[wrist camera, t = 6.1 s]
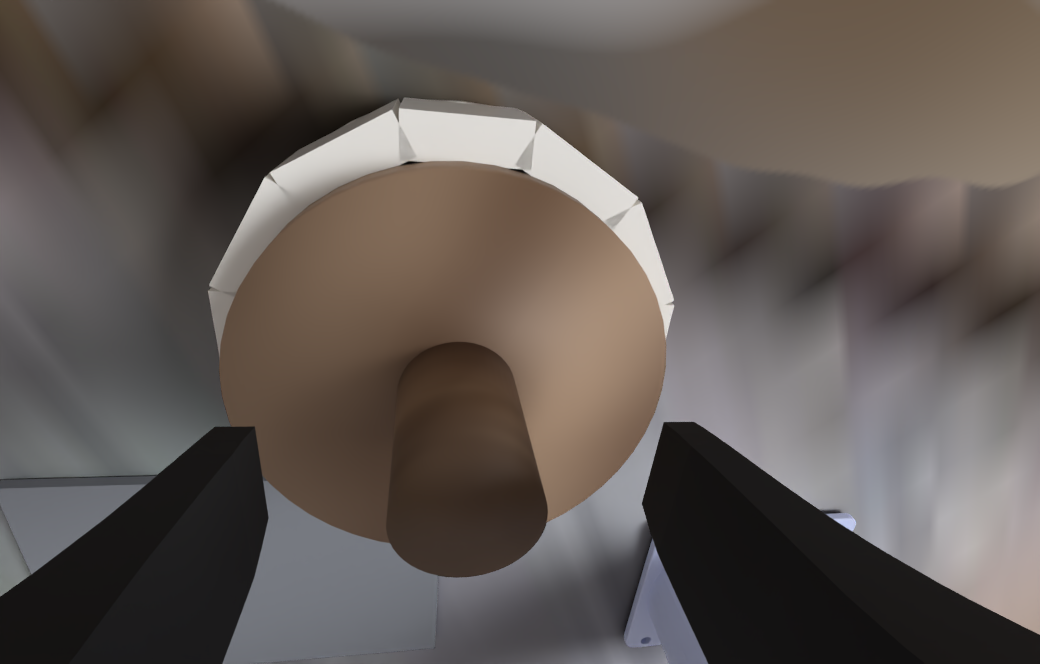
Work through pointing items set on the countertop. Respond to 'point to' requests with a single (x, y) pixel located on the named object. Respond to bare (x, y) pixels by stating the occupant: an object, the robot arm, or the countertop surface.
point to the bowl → (422, 138)
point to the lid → (444, 360)
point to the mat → (261, 573)
